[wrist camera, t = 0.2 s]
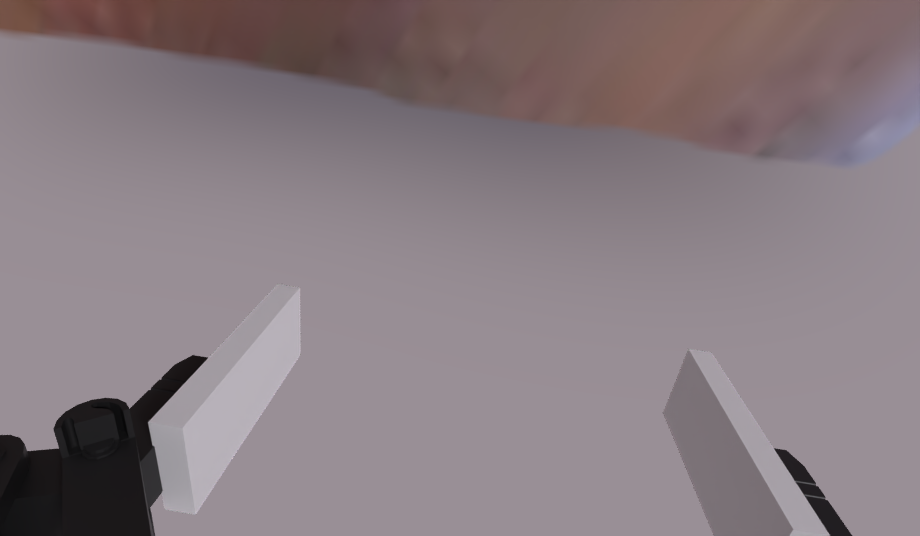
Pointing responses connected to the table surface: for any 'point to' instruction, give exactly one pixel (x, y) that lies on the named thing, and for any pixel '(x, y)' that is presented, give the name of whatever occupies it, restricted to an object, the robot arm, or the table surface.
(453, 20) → the table surface
